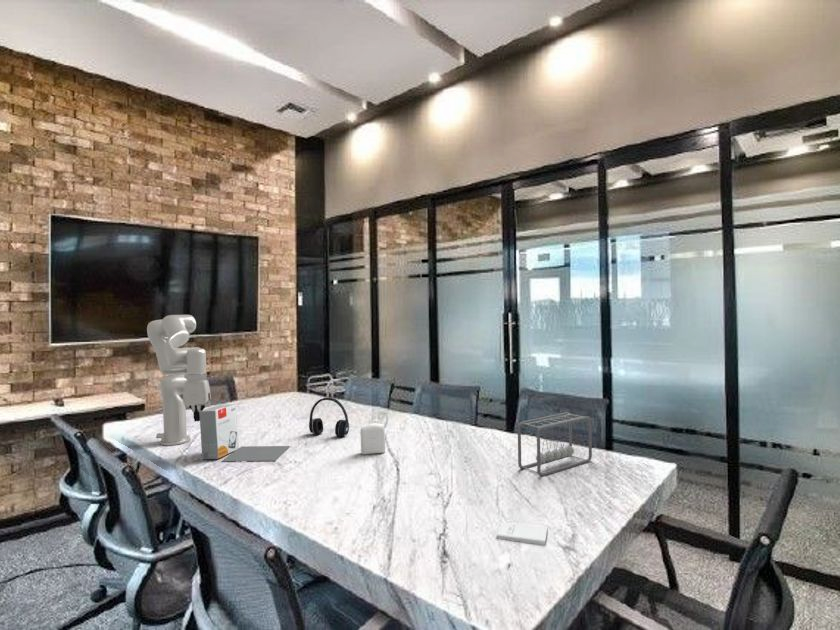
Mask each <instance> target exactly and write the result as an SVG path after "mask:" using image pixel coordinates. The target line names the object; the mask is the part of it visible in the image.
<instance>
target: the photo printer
mask: <svg viewBox="0 0 840 630" xmlns="http://www.w3.org/2000/svg"><path fill="white" fill-rule="evenodd" d="M384 426H385V425H384V424H382V423H375V422H373V423H372V422H371V423H367V424H364V425H362V426H361V429H360V447H361V448H360V453H361V455H370V454H383V453H386V434H385V433H386V432H385V431H386V430H385V427H384Z"/></svg>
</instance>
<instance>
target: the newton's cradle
mask: <svg viewBox="0 0 840 630" xmlns="http://www.w3.org/2000/svg"><path fill="white" fill-rule="evenodd" d="M572 416H574V417H575V418H573V417H572ZM565 417H566V418H568V419H565ZM561 418H562V420H561V421H559V420H558V419H561ZM555 419H556V420H555ZM552 420H553V421H554V422H552ZM586 420H587V421H588V425H587V426H588V429H587V430H588V433H587V434H588V456H587V458H586V459H585V458H582V457H579V456H575V455H574V453H575V450H574V447H573V429H574V423H577V422H581V421H586ZM548 421H549V423H548ZM555 421H556V422H555ZM542 422H543V423H542ZM546 422H547V423H548V424H545V423H546ZM538 423H539V424H541V425H538ZM533 424H536V425H533ZM517 425H518V426H517V460H518V461H517V463H518V467H519V469H520V470H528V471H529V472H533V473H535V474H537V475H538V476H539V477H545V476H549V475H551V474H555V473H558V472H560V471H561V472H562V471H564V470H568V469H570V468H573V467H577V466H580V465H583V464H586V463H589V462H591V460H592V458H593V452H592V451H593V448H592V447H593V446H592V445H593V443H592V440H593V437H592V436H593V435H592V430H593V429H592V419H591V417H590V416H582V415H579V414H578V415H577V414H572V413H570V412H568V411H567V412H562V413H561V412H560V413H557V414H552V415H547V416H543V417H537V418H533V419H528V420H523V421H521V422H519V423H518V424H517ZM525 425H527V426H530V427H533V428H536V456H535V459H536V460H535V462H532V463H528V464H526V465H525V464H524V465H522V433H521V432H522V429H521V428H522V426H525ZM567 425H568V426H567ZM561 426H565V427H564V429H565V431H564V434H565V436H564V438H563V441H567V446H564V444H565V443H563V445H562V444H560V447H559V448H558V447H556V445H558V443H559V442H562V441H561V440H562V438H560V436H561V433H560V432H558V435H557V438H559V440H560V441H559V440H557V442H556V445H555V444H553V445H554V449H552V450H547V451H545V452H544V453H543V451H544V448H542V449H541V432H542V430H544V438H543V440H546V443H548V440H547V438H546V437H547V435H546V432H547V430H548V429H551V437H550V441H552V439H553V441H552V442H555V439H554V438H553V436H554V434H553V433H554V432H553V430H554V428H556V427H557V428H558V431H560V429H561V428H560V427H561ZM567 427H568V436H567ZM566 438H568V439H566ZM544 445H545V441H543V443H542V446H544ZM551 446H552V443H550V446H548V445H546V447H547V449H549V448H551ZM569 456H570V457H573V458H577V459H579V460H580V461H576V462H573V463H570V464H566V465H564V466H560V467H556V468H553V469H550V470H547V471H543V472H542V469H541V465H542V464H543V465H544V464H545V463H549V462H552V461H555V460H560V459H562V458H563V459H564V458H566V457H569ZM535 466H536V467H537V468H536V470H537V471H535V470H532V469H530V468H532V467H535Z"/></svg>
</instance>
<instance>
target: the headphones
mask: <svg viewBox="0 0 840 630" xmlns="http://www.w3.org/2000/svg"><path fill="white" fill-rule="evenodd" d="M322 401H330V402H334V403H336V405H338V407H340V409H341V410H342V413H343V414H344V419H339V420H337V421H336V424H335V428H334V434H335V436H336V437H340V438H343V437H344V436H346V435H348V434H349V431H350V423H349V418H348V412H347V411H346V409H345V407H344V405H343V404H342V402H340V401H339V400H338V399H337V398H334V397H322V398H320V399H319V400H317V401H316V402H315V403H314V404H313V406H312V407H311V409H310V413H309V422H308V429H309V430H308V431H309V432H310V433H312V434H313V436H318V435H322V433H323V432H324V422H323V419H322V418H320V417H318V418H317V417H315V418H314V417H313V416H314V410H315V408H316V407H317V405H319V403H321V402H322Z"/></svg>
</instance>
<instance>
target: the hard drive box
mask: <svg viewBox="0 0 840 630" xmlns="http://www.w3.org/2000/svg"><path fill="white" fill-rule="evenodd" d="M237 409H238V408H237V404H235V403H229V404H227V403H226V404H225V403H224V404H218V405H216V406H212V407H209V408H207V409H203V411H200V412H199V415H200V421H199V427H200V443H201V444H200V447H201V459H202V460H218V459H221V458H224V457H225V456H226V455H227V456H228V455H230V454H232V453H233V452H235V451H236V450H237V449H239V448H240V442H239V428H238V427H239V426H238V413H237V412H238V410H237Z"/></svg>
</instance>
